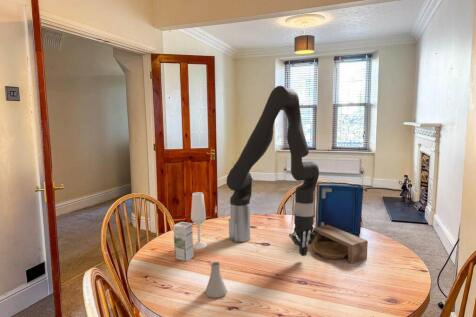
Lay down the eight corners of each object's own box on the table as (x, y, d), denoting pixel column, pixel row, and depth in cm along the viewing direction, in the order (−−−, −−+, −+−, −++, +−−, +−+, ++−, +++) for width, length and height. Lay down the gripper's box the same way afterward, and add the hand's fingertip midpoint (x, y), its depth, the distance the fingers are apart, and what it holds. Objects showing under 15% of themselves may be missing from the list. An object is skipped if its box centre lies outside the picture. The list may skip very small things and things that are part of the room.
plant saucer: (344, 265, 120) (344, 258, 119) (308, 256, 128) (308, 250, 128) (353, 251, 132) (354, 245, 132) (320, 244, 140) (320, 238, 140)
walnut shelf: (351, 263, 120) (352, 244, 119) (313, 243, 140) (313, 227, 139) (366, 258, 124) (367, 240, 123) (327, 240, 144) (327, 224, 143)
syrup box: (194, 256, 129) (193, 222, 127) (186, 262, 123) (184, 227, 122) (182, 254, 131) (181, 220, 129) (174, 259, 126) (172, 225, 124)
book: (359, 231, 155) (360, 182, 152) (363, 236, 148) (365, 185, 145) (314, 230, 157) (315, 181, 154) (317, 235, 150) (317, 184, 147)
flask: (205, 287, 105) (204, 259, 103) (226, 286, 105) (226, 258, 104) (204, 299, 97) (203, 269, 96) (227, 298, 98) (227, 268, 97)
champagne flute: (189, 247, 138) (187, 194, 135) (196, 241, 144) (194, 191, 141) (202, 249, 135) (200, 195, 132) (209, 243, 142) (208, 192, 139)
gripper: (310, 208, 127) (309, 248, 129) (284, 212, 121) (283, 254, 123) (323, 212, 120) (322, 255, 123) (296, 218, 114) (295, 262, 117)
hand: (303, 255), depth 123 cm, fingers closed
